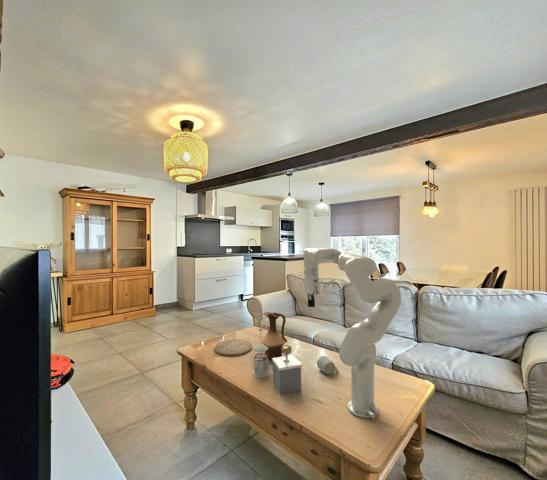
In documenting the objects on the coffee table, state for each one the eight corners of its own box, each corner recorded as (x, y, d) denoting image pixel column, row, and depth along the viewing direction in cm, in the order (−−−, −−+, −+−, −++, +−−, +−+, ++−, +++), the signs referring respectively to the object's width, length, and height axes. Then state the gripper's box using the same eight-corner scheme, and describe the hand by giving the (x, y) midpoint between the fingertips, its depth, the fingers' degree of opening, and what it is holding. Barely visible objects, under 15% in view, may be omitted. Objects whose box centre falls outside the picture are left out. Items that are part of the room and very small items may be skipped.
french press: (273, 372, 160) (273, 328, 159) (258, 380, 151) (258, 333, 150) (261, 366, 166) (260, 324, 166) (246, 374, 158) (245, 329, 157)
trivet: (206, 351, 190) (206, 348, 190) (232, 339, 211) (232, 336, 211) (234, 360, 176) (234, 357, 176) (259, 346, 196) (259, 344, 196)
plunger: (293, 383, 143) (292, 348, 142) (283, 385, 141) (283, 349, 141) (289, 379, 148) (289, 344, 147) (280, 380, 146) (280, 346, 145)
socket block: (301, 390, 141) (301, 364, 140) (279, 395, 137) (279, 368, 137) (290, 375, 156) (289, 351, 155) (269, 379, 152) (269, 354, 152)
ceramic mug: (325, 376, 154) (325, 362, 154) (316, 370, 161) (316, 356, 161) (340, 373, 158) (341, 359, 158) (331, 366, 166) (332, 353, 166)
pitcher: (289, 352, 186) (289, 309, 185) (284, 363, 170) (284, 317, 169) (264, 349, 191) (263, 307, 190) (256, 360, 174) (255, 315, 173)
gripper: (324, 273, 143) (324, 309, 144) (311, 269, 158) (311, 302, 158) (310, 274, 141) (311, 311, 142) (298, 270, 155) (299, 303, 156)
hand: (311, 306), depth 150 cm, fingers closed
